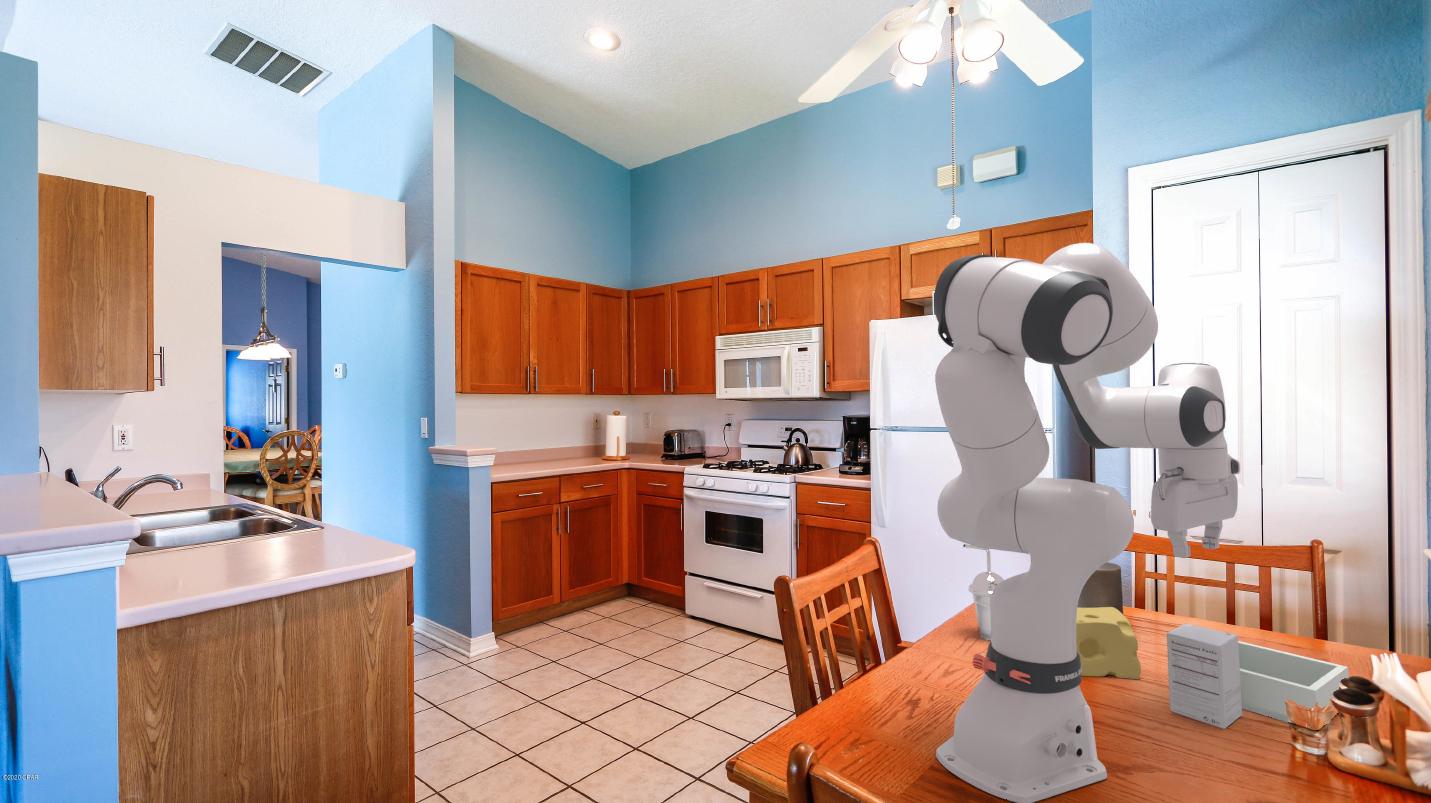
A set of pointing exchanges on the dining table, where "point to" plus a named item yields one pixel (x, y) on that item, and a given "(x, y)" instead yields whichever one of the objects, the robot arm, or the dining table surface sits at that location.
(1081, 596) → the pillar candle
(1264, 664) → the box
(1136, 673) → the cheese
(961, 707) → the robot arm
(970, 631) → the dining table surface
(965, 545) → the cup with straw
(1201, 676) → the supplement box
